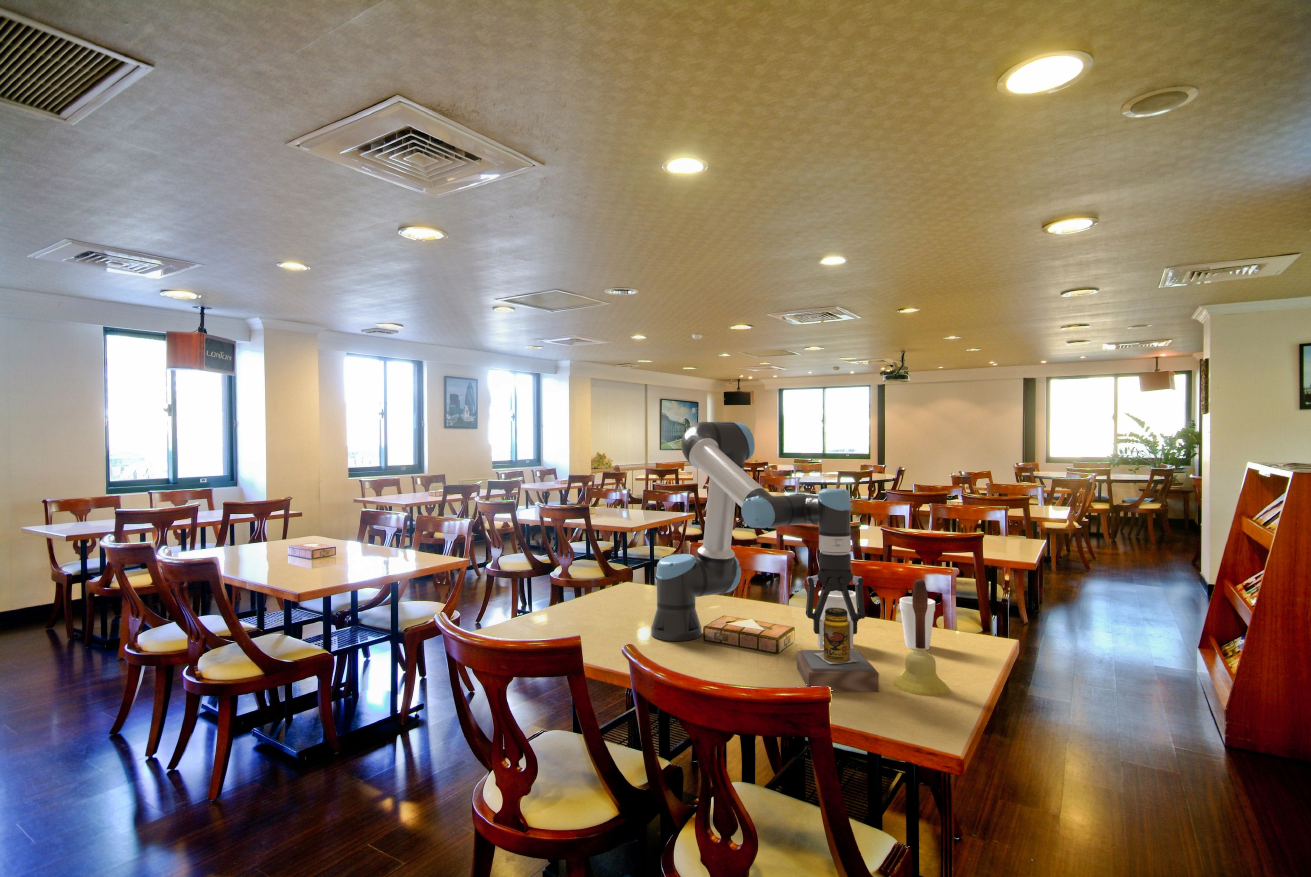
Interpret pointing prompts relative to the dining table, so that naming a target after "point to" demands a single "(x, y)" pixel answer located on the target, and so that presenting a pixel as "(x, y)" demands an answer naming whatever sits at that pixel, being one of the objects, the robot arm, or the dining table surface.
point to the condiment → (836, 637)
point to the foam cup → (909, 621)
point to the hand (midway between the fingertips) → (835, 646)
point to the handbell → (920, 654)
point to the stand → (838, 672)
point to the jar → (837, 603)
